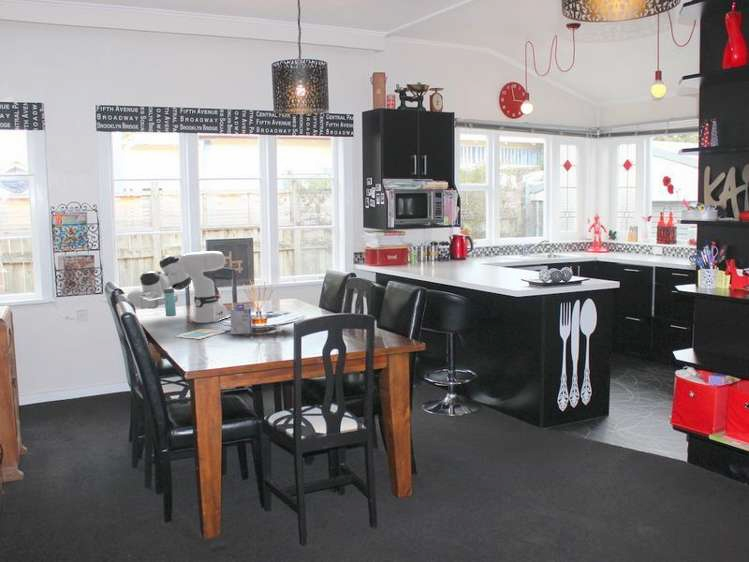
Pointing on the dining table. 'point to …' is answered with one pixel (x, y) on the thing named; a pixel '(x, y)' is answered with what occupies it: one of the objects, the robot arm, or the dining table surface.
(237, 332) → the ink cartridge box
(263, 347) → the dining table surface
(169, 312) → the teal canister
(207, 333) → the picture board
